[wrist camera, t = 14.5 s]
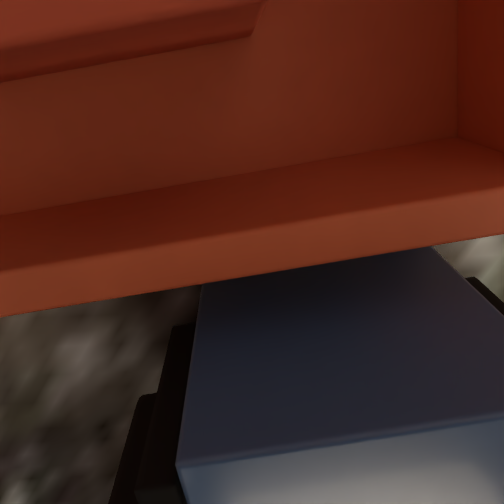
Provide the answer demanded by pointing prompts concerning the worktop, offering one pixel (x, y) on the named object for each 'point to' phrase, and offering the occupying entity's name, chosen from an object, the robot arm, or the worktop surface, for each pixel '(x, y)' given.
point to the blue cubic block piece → (345, 387)
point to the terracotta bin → (254, 152)
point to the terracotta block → (112, 30)
